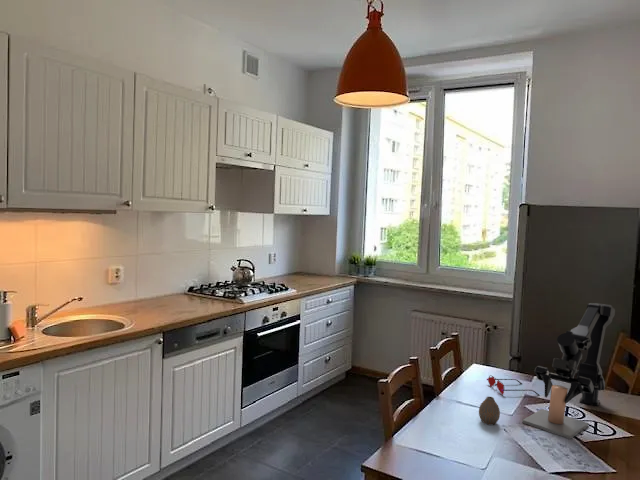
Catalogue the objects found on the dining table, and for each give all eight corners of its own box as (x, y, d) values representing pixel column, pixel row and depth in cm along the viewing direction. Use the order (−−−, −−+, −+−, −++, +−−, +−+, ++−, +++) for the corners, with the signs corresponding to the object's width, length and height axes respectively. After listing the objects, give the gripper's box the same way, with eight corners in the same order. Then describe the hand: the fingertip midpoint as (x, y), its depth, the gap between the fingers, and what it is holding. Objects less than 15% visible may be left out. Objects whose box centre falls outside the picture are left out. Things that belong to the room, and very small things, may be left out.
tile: (541, 411, 189) (541, 408, 189) (588, 425, 177) (588, 423, 177) (522, 422, 178) (522, 419, 178) (570, 438, 166) (570, 435, 166)
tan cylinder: (545, 417, 180) (550, 384, 179) (560, 419, 180) (564, 386, 179) (550, 422, 175) (554, 388, 174) (565, 425, 175) (569, 390, 174)
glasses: (485, 384, 217) (486, 373, 217) (522, 384, 220) (522, 373, 219) (501, 396, 204) (502, 384, 203) (540, 396, 206) (541, 384, 206)
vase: (500, 427, 173) (502, 402, 172) (479, 425, 174) (480, 400, 174) (497, 419, 180) (499, 395, 179) (477, 417, 181) (478, 393, 180)
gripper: (537, 343, 185) (522, 379, 178) (593, 355, 172) (578, 395, 165) (545, 361, 191) (530, 396, 184) (599, 374, 178) (586, 412, 171)
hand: (555, 399), depth 176 cm, fingers open, 6 cm apart
